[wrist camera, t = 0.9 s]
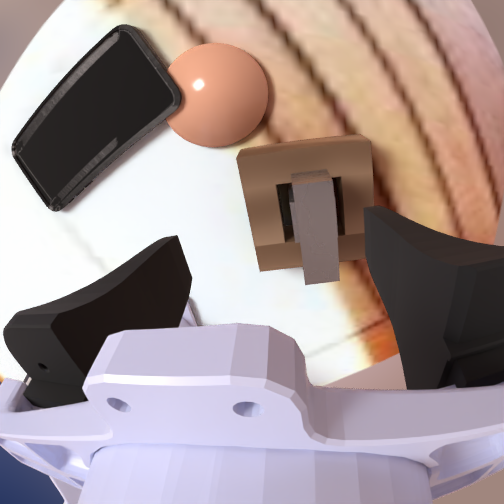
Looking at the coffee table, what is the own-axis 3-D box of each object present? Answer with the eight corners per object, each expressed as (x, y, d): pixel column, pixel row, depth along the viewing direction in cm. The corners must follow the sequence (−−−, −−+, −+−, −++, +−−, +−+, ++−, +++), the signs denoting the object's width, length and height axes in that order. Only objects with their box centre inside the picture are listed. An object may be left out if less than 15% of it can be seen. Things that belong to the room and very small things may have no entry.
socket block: (366, 239, 23) (374, 257, 21) (261, 253, 24) (259, 271, 22) (360, 134, 19) (370, 141, 17) (240, 149, 20) (236, 158, 18)
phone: (8, 148, 20) (125, 17, 15) (16, 145, 21) (132, 19, 16) (55, 217, 23) (187, 103, 18) (61, 211, 24) (192, 102, 19)
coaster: (276, 136, 20) (277, 137, 19) (175, 155, 21) (173, 156, 20) (257, 34, 16) (256, 33, 16) (152, 60, 17) (150, 59, 17)
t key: (330, 232, 23) (344, 280, 18) (295, 236, 23) (300, 285, 18) (322, 152, 20) (338, 179, 15) (283, 157, 20) (286, 185, 15)
